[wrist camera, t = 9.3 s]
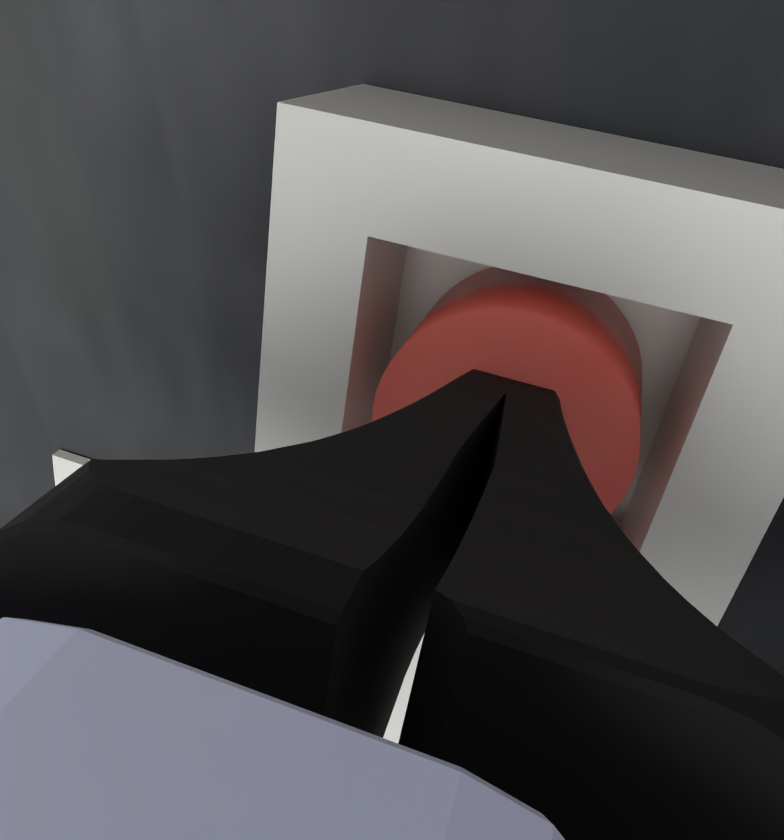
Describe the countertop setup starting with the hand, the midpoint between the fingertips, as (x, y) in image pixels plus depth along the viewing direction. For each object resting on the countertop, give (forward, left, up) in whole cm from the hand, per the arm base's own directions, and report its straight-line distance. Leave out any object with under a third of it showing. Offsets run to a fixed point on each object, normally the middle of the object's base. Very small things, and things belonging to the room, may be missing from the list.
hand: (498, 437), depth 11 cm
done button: (0, 0, -2) cm, 2 cm away
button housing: (0, 0, -4) cm, 4 cm away
